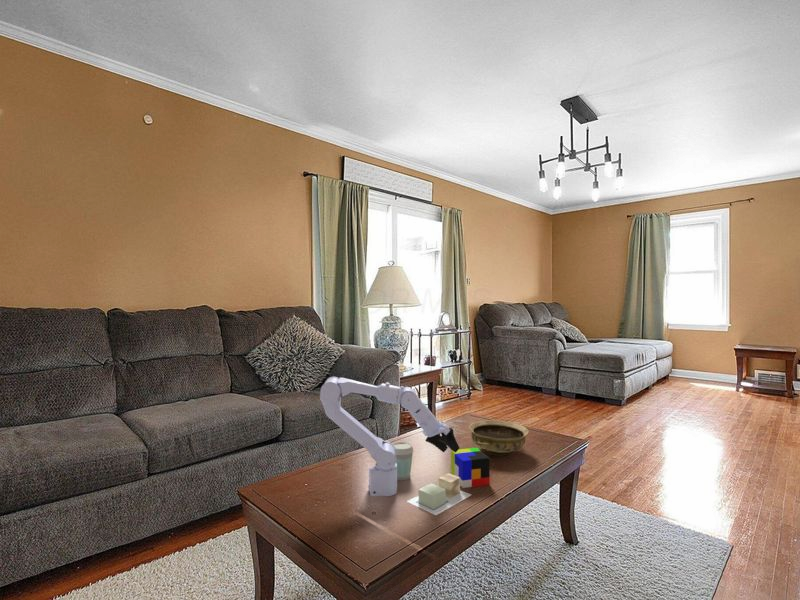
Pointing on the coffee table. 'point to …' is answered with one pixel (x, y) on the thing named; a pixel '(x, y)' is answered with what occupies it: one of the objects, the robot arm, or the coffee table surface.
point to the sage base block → (432, 495)
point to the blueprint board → (442, 507)
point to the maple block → (450, 484)
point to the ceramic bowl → (498, 436)
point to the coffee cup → (403, 459)
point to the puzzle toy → (470, 467)
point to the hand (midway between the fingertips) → (451, 450)
